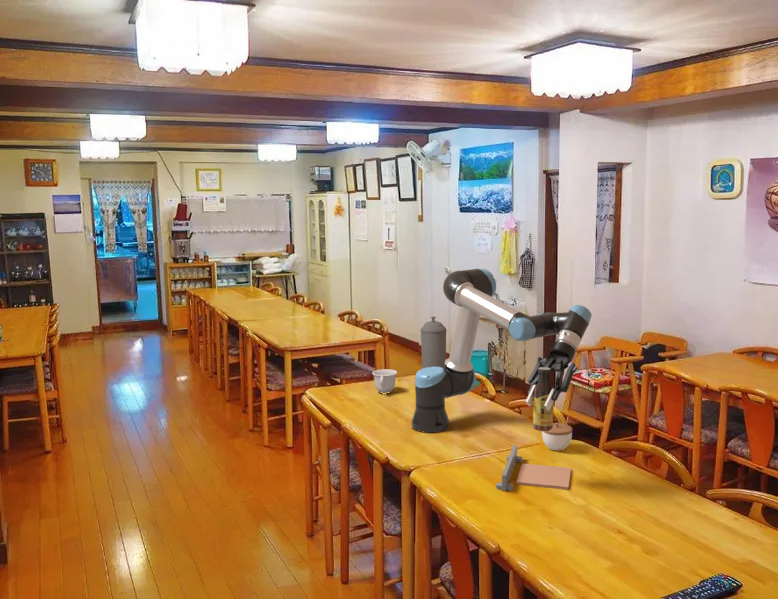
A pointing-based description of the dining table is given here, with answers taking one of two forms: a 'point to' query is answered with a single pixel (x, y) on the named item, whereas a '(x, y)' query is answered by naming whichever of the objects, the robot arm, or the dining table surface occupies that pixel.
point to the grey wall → (509, 470)
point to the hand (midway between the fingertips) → (537, 406)
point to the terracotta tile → (544, 476)
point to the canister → (433, 344)
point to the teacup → (384, 379)
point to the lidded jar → (557, 436)
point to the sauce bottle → (542, 401)
